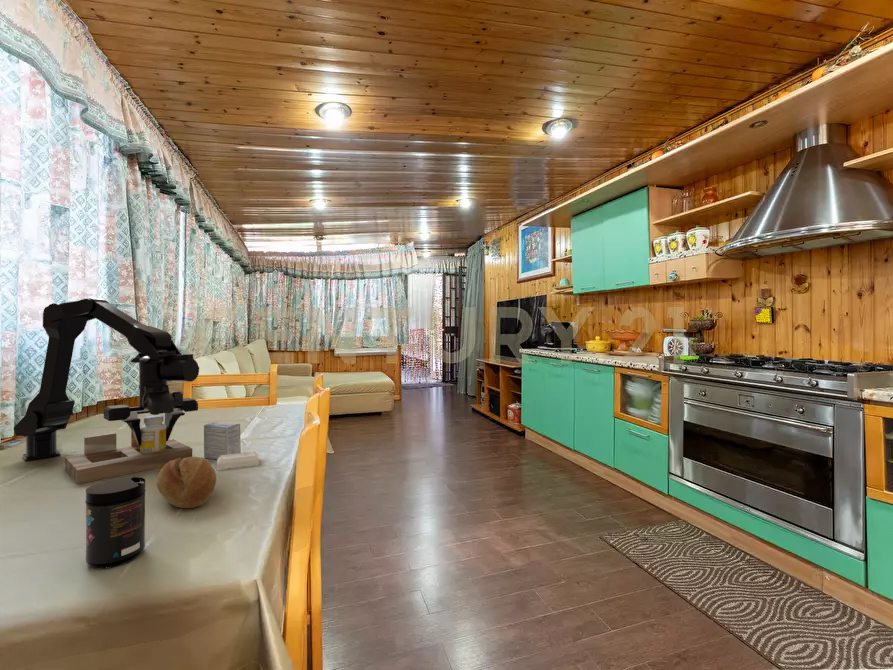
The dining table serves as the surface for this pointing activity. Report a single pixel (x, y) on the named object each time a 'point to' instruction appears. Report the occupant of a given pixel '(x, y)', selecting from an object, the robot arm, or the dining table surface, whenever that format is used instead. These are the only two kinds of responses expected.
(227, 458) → the soap bar
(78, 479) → the socket board
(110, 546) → the supplement container
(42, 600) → the dining table surface
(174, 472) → the bread roll
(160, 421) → the supplement bottle
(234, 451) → the medicine box
